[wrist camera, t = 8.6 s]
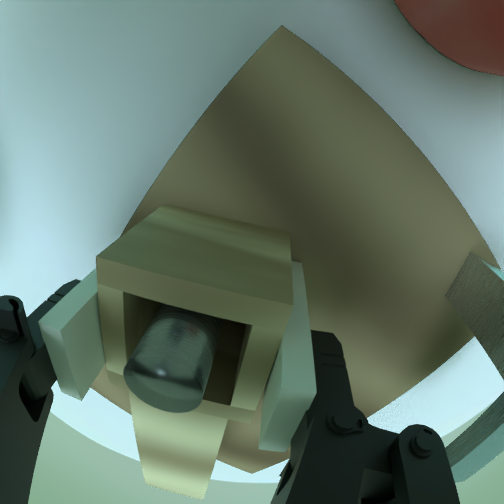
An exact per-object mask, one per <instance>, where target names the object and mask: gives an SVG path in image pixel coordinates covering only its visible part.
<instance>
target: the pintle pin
mask: <svg viewBox="0 0 504 504" xmlns="http://www.w3.org/2000/svg"><path fill="white" fill-rule="evenodd" d="M224 321H225V319H223V318H219V317H215V316H211V315H207V314H203V313H199V312H195V311H191V310H187V309H183V308H180V307H176V306H172V305H168V304H165V303H162V305H161V307H160V308H159V310H158V312H157V313H156V315H155V317H154V318H153V320H152V321H151V323H150V325H149V326H148V328H147V330H146V331H145V333H144V335H143V336H142V338H141V340H140V341H139V343H138V345H137V347H136V348H135V350H134V352H133V353H132V355H131V357H130V359H129V360H128V362H127V364H126V365H125V367H124V371H123V375H124V380H125V382H126V384H127V386H128V387H129V389H130V390H131V391H132V392H133V394H135V395H136V396H137V397H138V398H139V399H140V400H142V401H143V402H145V403H146V404H148V405H150V406H152V407H154V408H157V409H159V410H163V411H166V412H172V413H185V412H189V411H192V410H194V409H196V408H197V407H198V406H199V405H200V404H201V402H202V398H203V395H204V391H205V388H206V384H207V381H208V377H209V373H210V370H211V366H212V363H213V359H214V356H215V352H216V349H217V345H218V342H219V338H220V335H221V331H222V328H223V324H224Z"/></svg>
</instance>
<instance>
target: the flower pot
mask: <svg viewBox="0 0 504 504" xmlns="http://www.w3.org/2000/svg"><path fill="white" fill-rule="evenodd" d="M394 2H395V3H396V5H397V7H398V8H399V10H400V11H401V13H402V14H403V15H404V17H405V18H406V19H407V21H408V22H409V23H410V24H411V25H412V26H413V28H414V29H415V30H416V31H418V32H419V33H420V34H421V35H422V36H423V37H424V38H425V39H426V41H427V42H428V43H429V44H431V45H432V46H433V47H434V48H435V49H436V50H438V51H439V52H440V53H442V54H443V55H445V56H446V57H448V58H449V59H451V60H453V61H454V62H456V63H458V64H460V65H462V66H464V67H467V68H469V69H472V70H476V71H480V72H485V73H490V74H495V75H500V76H504V0H394Z"/></svg>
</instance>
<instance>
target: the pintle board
mask: <svg viewBox="0 0 504 504" xmlns="http://www.w3.org/2000/svg"><path fill="white" fill-rule="evenodd" d="M162 205H168V206H173V207H177V208H182V209H187V210H192V211H196V212H201V213H205V214H210V215H215V216H219V217H224V218H228V219H233V220H237V221H242V222H246V223H250V224H255V225H259V226H264V227H268V228H272V229H277V230H281V231H285V232H289V233H290V248H291V261H295V262H301V263H302V266H303V273H304V281H305V289H306V296H307V305H308V313H309V321H310V330H316V331H323V332H330V333H334V335H335V336H336V337H337V339H338V340H339V341H340V343H341V344H342V349H343V353H344V358H345V362H346V368H347V372H348V376H349V381H350V386H351V391H352V396H353V402H354V405H355V407H357V408H358V409H359V410H360V411H361V412H363V413H364V415H365V417H366V418H367V417H369V416H371V415H372V414H374V413H375V412H377V411H379V410H380V409H382V408H383V407H385V406H386V405H388V404H389V403H391V402H392V401H394V400H395V399H397V398H398V397H400V396H401V395H403V394H404V393H405V392H407V391H408V390H410V389H411V388H412V387H414V386H415V385H416V384H418V383H419V382H420V381H422V380H423V379H424V378H426V377H427V376H428V375H430V374H431V373H432V372H433V371H435V370H436V369H437V368H438V367H440V366H441V365H442V364H443V363H445V362H446V361H447V360H448V359H449V358H451V357H452V356H453V355H454V354H455V353H456V352H457V351H459V350H460V349H461V348H462V347H463V346H464V345H465V344H466V343H468V342H469V341H470V340H471V339H472V338H473V337H474V336H475V335H474V334H473V332H472V331H471V330H470V328H469V327H468V326H467V324H466V323H465V321H464V320H463V319H462V317H461V316H460V315H459V313H458V312H457V311H456V309H455V308H454V307H453V305H452V304H451V303H450V301H449V300H448V299H447V298H446V296H445V294H446V293H447V291H448V290H449V288H450V286H451V285H452V283H453V281H454V279H455V278H456V276H457V274H458V273H459V271H460V269H461V267H462V265H463V264H464V262H465V260H466V258H467V256H468V254H469V252H470V251H471V252H472V253H474V254H476V255H477V256H479V257H481V258H482V259H484V260H486V261H487V262H489V263H491V264H492V265H494V266H496V267H497V268H499V269H500V267H499V265H498V263H497V262H496V260H495V258H494V256H493V254H492V253H491V251H490V249H489V247H488V246H487V244H486V242H485V240H484V239H483V237H482V235H481V234H480V232H479V231H478V229H477V227H476V226H475V224H474V223H473V221H472V219H471V218H470V216H469V215H468V213H467V212H466V210H465V209H464V207H463V206H462V204H461V203H460V202H459V200H458V199H457V197H456V196H455V194H454V193H453V192H452V190H451V189H450V188H449V186H448V185H447V183H446V182H445V181H444V179H443V178H442V177H441V176H440V174H439V173H438V172H437V170H436V169H435V168H434V167H433V165H432V164H431V163H430V162H429V160H428V159H427V158H426V157H425V155H424V154H423V153H422V152H421V151H420V149H419V148H418V147H417V146H416V145H415V144H414V142H413V141H412V140H411V139H410V138H409V137H408V136H407V135H406V133H405V132H404V131H403V130H402V129H401V128H400V127H399V126H398V125H397V124H396V123H395V122H394V120H393V119H392V118H391V117H390V116H389V115H388V114H387V113H386V112H385V111H384V110H383V109H382V108H381V107H380V106H379V105H378V104H377V103H376V102H375V101H374V100H373V99H372V98H371V97H370V96H369V95H368V94H367V93H365V92H364V91H363V90H362V89H361V88H360V87H359V86H358V85H357V84H356V83H355V82H353V81H352V80H351V79H350V78H349V77H348V76H347V75H346V74H344V73H343V72H342V71H341V70H340V69H339V68H337V67H336V66H335V65H334V64H333V63H331V62H330V61H329V60H328V59H327V58H325V57H324V56H323V55H322V54H320V53H319V52H318V51H316V50H315V49H314V48H313V47H311V46H310V45H309V44H307V43H306V42H305V41H303V40H302V39H301V38H299V37H298V36H296V35H295V34H294V33H292V32H291V31H289V30H288V29H286V28H285V27H284V26H282V25H281V26H280V27H279V28H278V29H277V30H276V31H275V32H274V33H273V34H272V35H271V36H270V37H269V38H268V40H267V41H266V42H265V43H264V44H263V45H262V46H261V47H260V48H259V49H258V50H257V51H256V52H255V53H254V54H253V55H252V57H251V58H250V59H249V60H248V61H247V62H246V63H245V64H244V65H243V67H242V68H241V69H240V70H239V71H238V72H237V73H236V75H235V76H234V77H233V78H232V79H231V80H230V82H229V83H228V84H227V85H226V86H225V87H224V89H223V90H222V91H221V92H220V93H219V95H218V96H217V97H216V98H215V100H214V101H213V102H212V103H211V105H210V106H209V107H208V108H207V110H206V111H205V112H204V113H203V115H202V116H201V117H200V118H199V120H198V121H197V122H196V124H195V125H194V126H193V128H192V129H191V130H190V132H189V133H188V134H187V136H186V137H185V138H184V140H183V141H182V142H181V144H180V145H179V147H178V148H177V149H176V151H175V152H174V154H173V155H172V156H171V158H170V159H169V161H168V162H167V164H166V165H165V166H164V168H163V169H162V171H161V172H160V174H159V175H158V177H157V178H156V180H155V181H154V183H153V184H152V186H151V187H150V189H149V190H148V192H147V194H146V195H145V197H144V198H143V200H142V201H141V203H140V205H139V206H138V208H137V209H136V211H135V213H134V214H133V216H132V218H131V219H130V221H129V223H128V224H127V226H126V228H125V229H124V231H123V233H122V234H121V236H122V235H124V234H125V233H126V232H128V231H129V230H130V229H131V228H133V227H134V226H135V225H137V224H138V223H139V222H141V221H142V220H143V219H145V218H146V217H147V216H149V215H150V214H151V213H153V212H154V211H155V210H157V209H158V208H159V207H161V206H162ZM121 236H120V237H121ZM500 270H501V269H500ZM91 388H92V389H94V390H95V391H96V392H98V393H99V394H101V395H102V396H104V397H105V398H106V399H108V400H109V401H111V402H112V403H114V404H115V405H117V406H118V407H120V408H121V409H123V410H125V411H126V412H128V413H129V414H131V415H132V413H131V406H130V399H129V391H126V390H124V389H121V388H118V387H116V386H113V385H110V384H109V379H108V374H107V368H106V363H105V365H104V366H103V368H102V370H101V371H100V373H99V374H98V376H97V377H96V379H95V380H94V382H93V384H92V385H91ZM263 394H264V390H263V392H262V395H261V397H260V400H259V402H258V405H257V408H256V410H255V413H254V415H253V418H252V420H251V423H244V422H239V421H234V420H229V419H228V421H227V424H226V428H225V431H224V434H223V438H222V441H221V444H220V448H219V451H218V454H217V458H216V459H217V460H219V461H221V462H224V463H226V464H228V465H231V466H233V467H236V468H238V469H241V470H243V471H246V472H249V473H251V474H252V473H255V472H257V471H260V470H263V469H265V468H268V467H270V466H273V465H275V464H277V463H280V462H282V461H285V460H287V459H289V458H290V446H289V448H288V449H287V451H286V452H277V451H268V450H260V449H258V447H259V437H260V427H261V416H262V405H263Z"/></svg>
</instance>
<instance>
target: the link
mask: <svg viewBox="0 0 504 504" xmlns="http://www.w3.org/2000/svg"><path fill="white" fill-rule="evenodd" d="M96 269H97V288H98V302H99V313H100V323H101V332H102V340H103V348H104V355H105V361H106V368H107V374H108V379H109V384H110V385H113V386H116V387H118V388H121V389H124V390H126V391H129V399H130V406H131V413H132V419H133V425H134V431H135V436H136V442H137V447H138V452H139V457H140V462H141V466H142V470H143V474H144V479H145V483H146V484H147V485H149V486H153V487H156V488H159V489H162V490H166V491H169V492H173V493H177V494H180V495H184V496H188V497H192V498H197V499H201V500H203V499H204V496H205V493H206V490H207V487H208V483H209V480H210V477H211V474H212V471H213V467H214V464H215V461H216V458H217V454H218V451H219V448H220V444H221V441H222V438H223V434H224V431H225V428H226V424H227V421H228V419H229V420H234V421H239V422H244V423H251V420H252V418H253V415H254V413H255V410H256V408H257V405H258V402H259V400H260V397H261V395H262V392H263V390H264V387H265V384H266V382H267V379H268V376H269V374H270V371H271V368H272V366H273V363H274V360H275V357H276V355H277V352H278V349H279V346H280V343H281V341H282V338H283V335H284V332H285V329H286V326H287V324H288V321H289V318H290V315H291V312H292V309H293V306H294V304H293V283H292V265H291V248H290V233H289V232H285V231H281V230H277V229H272V228H268V227H264V226H259V225H255V224H250V223H246V222H242V221H237V220H233V219H228V218H224V217H219V216H215V215H210V214H205V213H201V212H196V211H192V210H187V209H182V208H177V207H173V206H168V205H162V206H161V207H159V208H158V209H157V210H155V211H154V212H153V213H151V214H150V215H149V216H147V217H146V218H145V219H143V220H142V221H141V222H139V223H138V224H137V225H135V226H134V227H133V228H131V229H130V230H129V231H128V232H126V233H125V234H124V235H122V236H121V237H120V238H119V239H117V240H116V241H115V242H114V243H112V244H111V245H110V246H109V247H107V248H106V249H105V250H104V251H102V252H101V253H100V254H99V255H97V256H96ZM162 303H165V304H168V305H172V306H176V307H180V308H183V309H187V310H191V311H195V312H199V313H203V314H207V315H211V316H215V317H219V318H223V319H225V321H224V324H223V328H222V331H221V335H220V338H219V342H218V345H217V349H216V352H215V356H214V359H213V363H212V366H211V370H210V373H209V377H208V381H207V384H206V388H205V391H204V395H203V398H202V402H201V404H200V405H199V406H198V407H197V408H196V409H194V410H192V411H189V412H185V413H172V412H166V411H163V410H159V409H157V408H154V407H152V406H150V405H148V404H146V403H145V402H143V401H142V400H140V399H139V398H138V397H137V396H136V395H135V394H133V392H132V391H131V390H130V389H129V387H128V386H127V384H126V382H125V380H124V375H123V371H124V367H125V365H126V364H127V362H128V360H129V359H130V357H131V355H132V353H133V352H134V350H135V348H136V347H137V345H138V343H139V341H140V340H141V338H142V336H143V335H144V333H145V331H146V330H147V328H148V326H149V325H150V323H151V321H152V320H153V318H154V317H155V315H156V313H157V312H158V310H159V308H160V307H161V305H162Z"/></svg>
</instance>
